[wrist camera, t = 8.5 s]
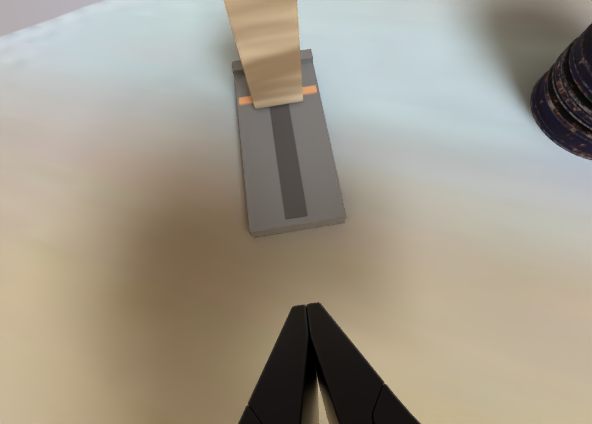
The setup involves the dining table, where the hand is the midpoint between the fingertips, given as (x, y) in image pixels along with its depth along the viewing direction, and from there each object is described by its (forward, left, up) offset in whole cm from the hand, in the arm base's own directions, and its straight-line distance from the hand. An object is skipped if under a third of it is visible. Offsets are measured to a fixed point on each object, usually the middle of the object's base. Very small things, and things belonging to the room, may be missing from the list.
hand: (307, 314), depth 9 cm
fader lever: (+13, +13, -11) cm, 21 cm away
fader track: (+10, +10, -12) cm, 19 cm away
